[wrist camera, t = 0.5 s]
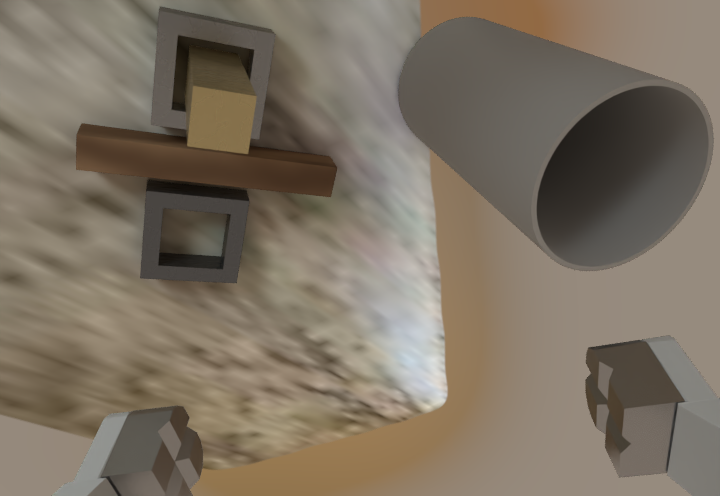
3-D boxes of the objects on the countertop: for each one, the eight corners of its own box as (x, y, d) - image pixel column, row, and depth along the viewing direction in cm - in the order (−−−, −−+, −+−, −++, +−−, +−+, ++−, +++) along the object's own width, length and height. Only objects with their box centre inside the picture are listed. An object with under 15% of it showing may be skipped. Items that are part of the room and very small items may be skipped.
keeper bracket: (147, 180, 52) (146, 191, 50) (246, 190, 55) (249, 201, 53) (141, 264, 56) (140, 278, 54) (234, 270, 59) (236, 283, 57)
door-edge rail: (81, 123, 48) (76, 134, 46) (330, 156, 56) (337, 167, 53) (81, 156, 50) (76, 169, 47) (324, 184, 57) (330, 197, 55)
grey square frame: (159, 6, 46) (159, 10, 44) (271, 29, 49) (275, 34, 47) (152, 116, 49) (151, 124, 47) (255, 130, 53) (259, 139, 50)
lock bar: (189, 44, 48) (193, 85, 36) (237, 53, 49) (256, 96, 37) (184, 92, 49) (187, 146, 38) (231, 99, 51) (248, 154, 39)
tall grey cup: (377, 129, 56) (498, 255, 35) (423, -4, 51) (596, 51, 30) (483, 157, 61) (644, 282, 40) (535, 38, 56) (750, 110, 35)
